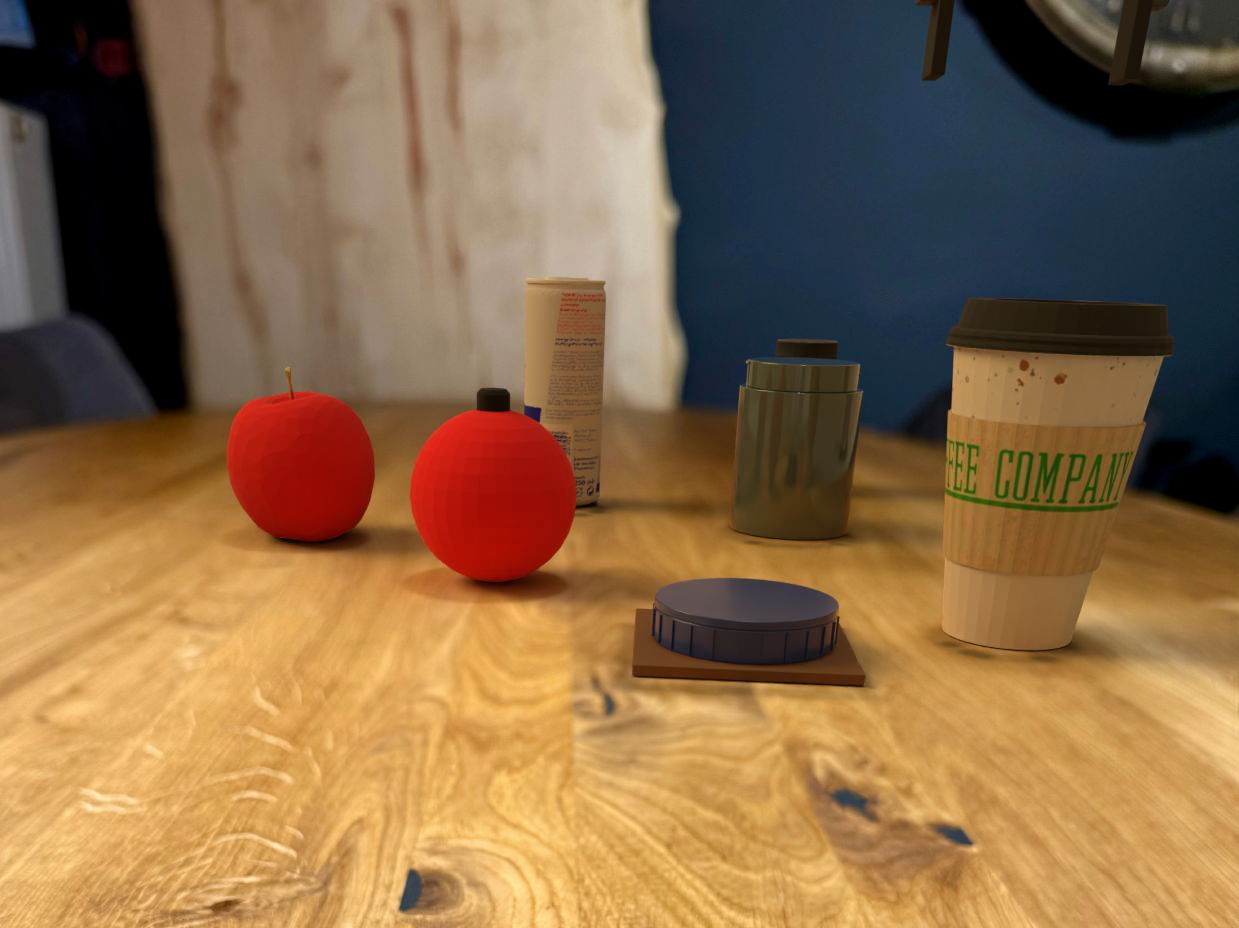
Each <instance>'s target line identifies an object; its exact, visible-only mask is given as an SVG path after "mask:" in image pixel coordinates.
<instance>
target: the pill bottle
mask: <svg viewBox="0 0 1239 928" xmlns="http://www.w3.org/2000/svg"><path fill="white" fill-rule="evenodd" d="M775 344H776V345H775V346H776V347H775V353H774V355H775V357H799V358H821V359H835V360H838V351H839V341H837V340H830V339H809V338H779V339H777V340H776V343H775Z"/></svg>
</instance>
